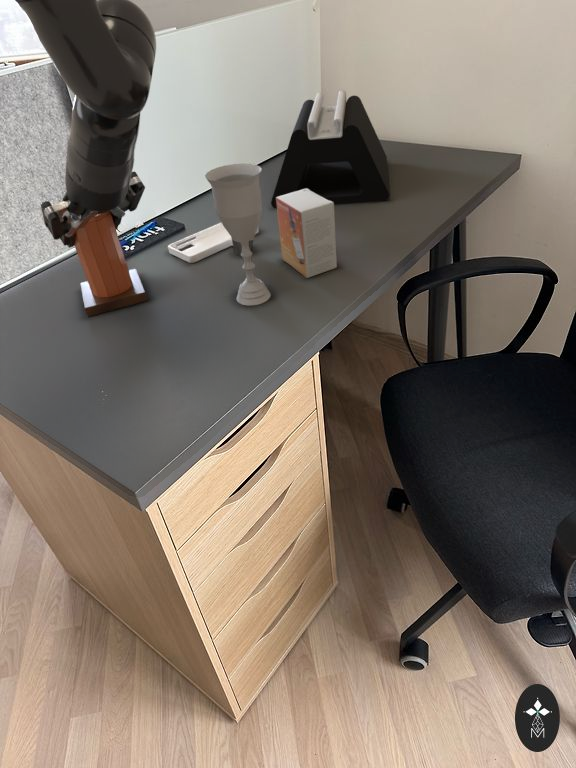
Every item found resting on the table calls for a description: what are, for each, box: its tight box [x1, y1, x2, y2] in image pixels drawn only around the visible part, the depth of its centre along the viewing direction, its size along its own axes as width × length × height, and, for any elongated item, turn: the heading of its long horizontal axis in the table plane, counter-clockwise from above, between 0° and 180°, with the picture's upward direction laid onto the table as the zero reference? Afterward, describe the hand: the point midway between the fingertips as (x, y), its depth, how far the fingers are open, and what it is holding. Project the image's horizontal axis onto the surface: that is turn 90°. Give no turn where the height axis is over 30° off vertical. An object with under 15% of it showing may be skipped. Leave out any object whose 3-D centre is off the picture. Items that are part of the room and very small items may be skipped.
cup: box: [68, 211, 133, 297], centre depth 84 cm, size 6×6×12 cm
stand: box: [79, 268, 148, 318], centre depth 85 cm, size 9×9×12 cm
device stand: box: [270, 89, 391, 209], centre depth 112 cm, size 22×22×15 cm
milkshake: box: [229, 234, 254, 257], centre depth 92 cm, size 4×5×10 cm
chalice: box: [204, 163, 272, 306], centre depth 78 cm, size 7×7×18 cm
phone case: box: [167, 221, 260, 264], centre depth 99 cm, size 7×1×15 cm
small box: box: [276, 188, 338, 279], centre depth 86 cm, size 8×6×10 cm
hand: (89, 233), depth 83 cm, fingers closed on cup, 6 cm apart
